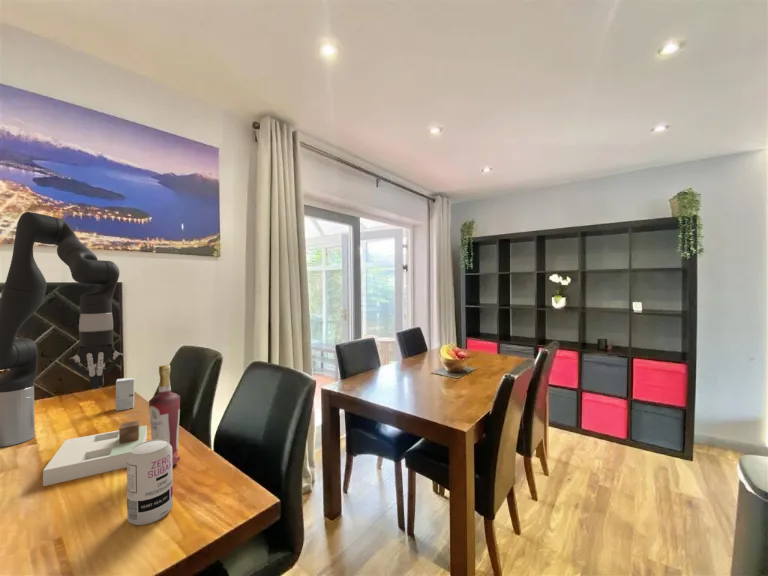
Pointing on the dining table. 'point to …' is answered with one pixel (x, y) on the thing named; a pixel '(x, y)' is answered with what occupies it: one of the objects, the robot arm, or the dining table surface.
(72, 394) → the dining table surface
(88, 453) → the trap plank
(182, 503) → the dining table surface
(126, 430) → the walnut block
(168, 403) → the liquor
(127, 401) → the skincare box
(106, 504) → the dining table surface
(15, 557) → the dining table surface
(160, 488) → the supplement can
